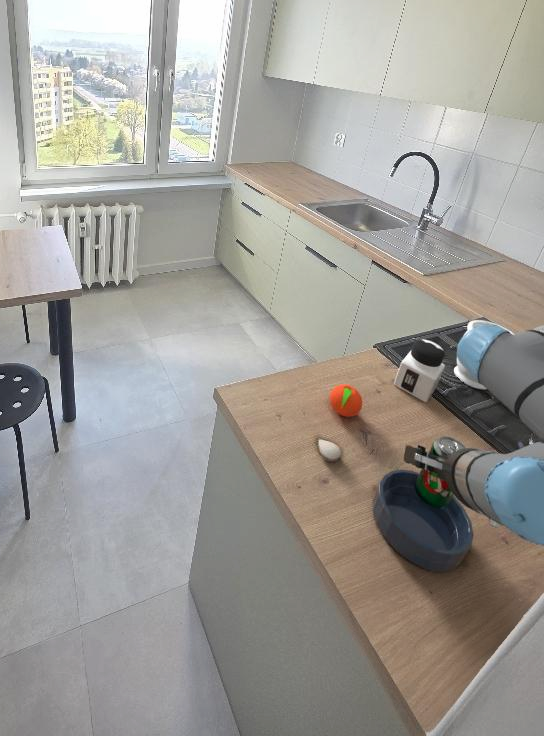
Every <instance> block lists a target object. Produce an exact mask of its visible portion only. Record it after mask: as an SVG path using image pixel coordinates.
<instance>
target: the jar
mask: <svg viewBox="0 0 544 736" xmlns="http://www.w3.org/2000/svg"><path fill="white" fill-rule="evenodd" d="M485 324H487V325H497V326H499V327H501V328H502V329H504V330H508V331H509V332H510V333H511V334H512V335H515V333H513V331H511V330H509V329H508V328H506V327H505V326H503V325H500V324H498V323H496V322H495V323H494V322H492V321H488V320H484V319H474V320H473V319H472V320H470V321H469V322H468V323H467V325H466V326H467V327H466V328H467V330H466V332H465V333H464V334H463V336H464V335H465V334H466V333H467V332H469V331H470V330H472V329H473V328H475V327H478V326H481V325H485ZM453 373H454V375H455V377H456V378H457V377H458V378H459V379H460V380H459V379H458V378H457V379H458V380H459V381H461V382H462V383H463V382H464V383H463V384H465V385H467V386H468V387H471V388H474V389H478V390H488V389H487V388H485V387H484V386H483V385H482V384H479V383H478V382H477V380H476V379H475V378H474V377H473V376H472V375H471V374H470V373H469V372H468V371H467V369H466V368H465V367H464V366H463V365H462V364H461V363H460V362H459V360H458V357H457V356H456V366H455V367H454V368H453Z"/></svg>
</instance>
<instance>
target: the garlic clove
mask: <svg viewBox="0 0 544 736" xmlns="http://www.w3.org/2000/svg"><path fill="white" fill-rule="evenodd" d="M318 450H319V453H320V456H321V457H322V458H323V459H324V460H325V461H327V462H337V461H338V460H339V459H340V458H341V455H342V451H341V448H340V447H339V446H338V444H336V443H334V442H331V441H329V440H328V441H327V440H324V439H321V438H319V439H318Z"/></svg>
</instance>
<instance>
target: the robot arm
mask: <svg viewBox="0 0 544 736" xmlns="http://www.w3.org/2000/svg"><path fill="white" fill-rule="evenodd" d="M508 330H509V329H508ZM508 330H504V329H502V328H501V327H499V326H497V325H487V324H485V325H481V326H478V327H475V328H473V329H472V330H470V331H469V332H467V331H466V332H467V333H466V332H465V333H466V334H465V333H464V334H465V335H464V334H463V335H462V337H461V338H460V340H459V342H458V343H457V346H456V358H457V357H458V360H459V362H460V363H461V364H462V365H463V366H464V367H465V368H466V369H467V371H468V372H469V373H470V374H471V375H472V376H473V377H474V378H475V379H476V380H477V382H478V383H479V384H482V385H483V386H484V387H485V388H487V389H486V390H488V391H489V393H491V394H492V395H493V396H494V397H495V398H497V399H498V400H499V401H500V402H501V403H502V404H503V405H504V406H506V408H507V409H509V410H510V412H512V413H513V414H514V415H515V416H516V418H518V419H519V420H520V421H521V422H522V423H523V424H524V425H525V426H526V427H527V428H528V429H529V430H531V431H532V432H533V433H534V434H535V435H536V436H537V437H538V438H539V440H536V441H534V443H531V444H529V445H526V446H523V447H522V448H519V449H517V450H514V451H511V452H509V453H506V454H505V453H502V452H498V451H497V452H496V451H491V450H486V449H478V448H473V447H466V448H464V449H460V450H457V451H455V452H454V453H453V454H451V455H450V456H446V455H443V454H441V455H440V457H438V456H435V455H432V454H430V453H429V451H427V450H426V449H427V447H425V446H423V445H420V444H417V447H414V446H411V445H407V444H406V445H405V449H404V455H403V462H404V463H406V464H408V465H409V464H411V465H412V466H415V468H418V469H420V470H421V469H424V470H426V471H427V470H429V471H431V472H434V473H436V474H437V476H438V478H439V479H441V480H444V481H446V482H447V484H448V486H449V488H450V490H451V491H452V493H453V494H454V496H455V498H456V499H457V500H458V501H459V503H460V504H461V505H464V506H465V507H467V508H468V509H470V510H472V511H474V512H475V513H477V514H479V515H481V516H484V517H486V518H488V523H489V525H490V526H491V527H493V528H495V529H498V528H500V526H504V527H506V529H509V531H510V532H512V533H514V534H515V535H517V536H518V537H520V538H521V539H523V540H525V541H527V542H529V543H531V544H532V543H533V544H535V545H541V546H544V324H543V325H539V326H537V327H534V328H532V329H527V330H525V331H521V332H518V333H516V334H515V333H514V335H512V334H511V333H510V332H509V331H510V330H509V331H508Z"/></svg>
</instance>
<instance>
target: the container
mask: <svg viewBox="0 0 544 736" xmlns="http://www.w3.org/2000/svg"><path fill="white" fill-rule="evenodd" d="M445 355H446V353H445V351H444V349H443V347H442V346H440V345H439V344H437V343H436V342H434V341H431V340H428V339H417V340H415V341H414V342H413V345H412V348H411V350H410V351H409V352H408V353H407V355H406V356H405V357H404V358H403V360H402V361H401V362H400V365H399V367H398V370H397V373H396V376H395V380H394V381H393V385H394V386H395V387H397V388H399V389H401V390H402V391H404V392H406V393H407V394H410V395H411V396H413V397H415V398H417V399H418V400H420V401H422V402H424V403H427V402H429V399H430V398H431V397H432V395H433V393H434V391H436V389H437V387H438V384H439V382H440V381H441V377H442V374H443V372H444V370H445V367H446V364H444V363H443V360H444V358H445Z"/></svg>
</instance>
